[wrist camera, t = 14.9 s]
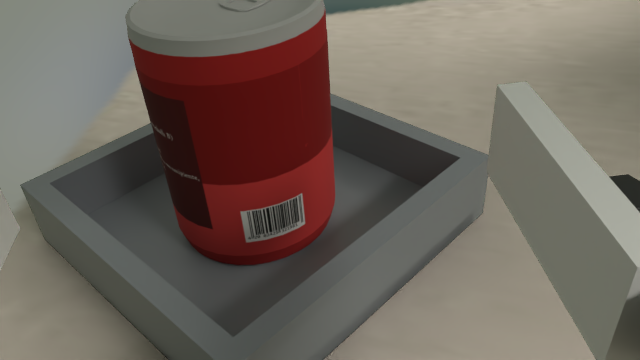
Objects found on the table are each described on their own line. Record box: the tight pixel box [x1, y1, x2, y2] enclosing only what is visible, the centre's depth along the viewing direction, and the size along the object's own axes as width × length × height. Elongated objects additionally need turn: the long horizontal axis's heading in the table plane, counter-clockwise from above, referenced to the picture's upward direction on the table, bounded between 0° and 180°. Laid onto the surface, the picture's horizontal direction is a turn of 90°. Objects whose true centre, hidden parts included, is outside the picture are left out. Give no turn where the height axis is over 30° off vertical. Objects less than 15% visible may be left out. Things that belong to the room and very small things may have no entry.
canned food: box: [126, 0, 335, 265], centre depth 26 cm, size 8×8×11 cm
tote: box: [21, 93, 489, 360], centre depth 29 cm, size 16×16×4 cm
